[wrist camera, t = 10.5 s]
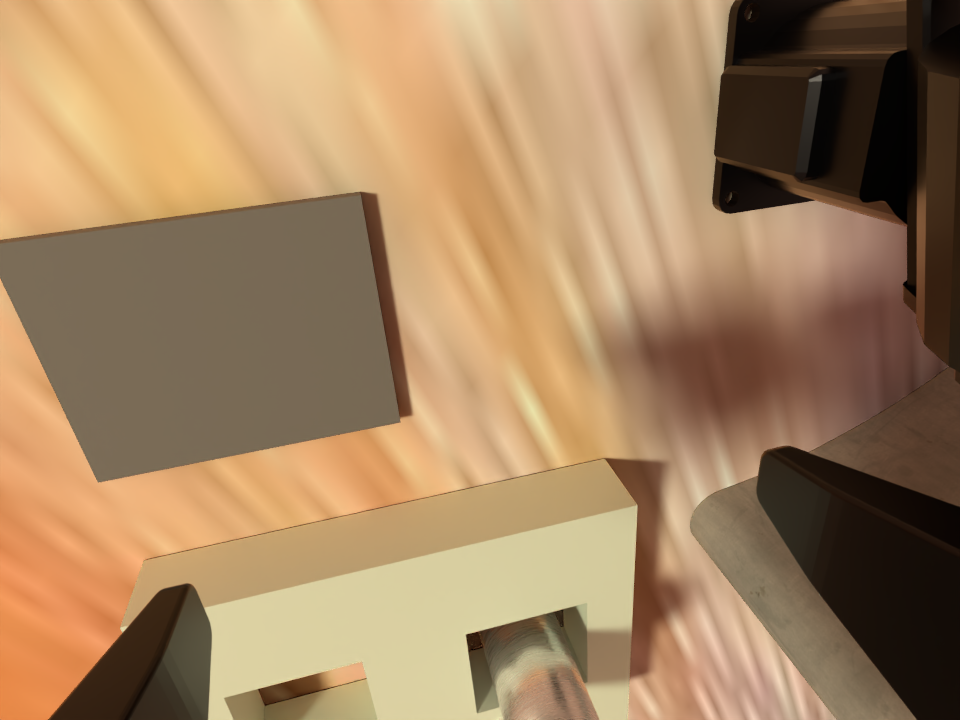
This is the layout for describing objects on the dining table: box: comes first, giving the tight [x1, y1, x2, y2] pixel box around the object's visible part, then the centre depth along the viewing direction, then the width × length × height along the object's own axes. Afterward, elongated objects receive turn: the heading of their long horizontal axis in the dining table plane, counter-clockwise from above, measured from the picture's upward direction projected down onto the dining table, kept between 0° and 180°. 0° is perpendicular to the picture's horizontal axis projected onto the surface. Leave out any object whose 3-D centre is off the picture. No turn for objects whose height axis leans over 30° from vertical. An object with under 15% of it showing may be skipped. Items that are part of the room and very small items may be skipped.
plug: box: [479, 612, 599, 720], centre depth 24 cm, size 3×3×8 cm
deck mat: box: [0, 192, 400, 482], centre depth 19 cm, size 10×8×1 cm
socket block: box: [120, 459, 638, 720], centre depth 25 cm, size 18×14×3 cm
